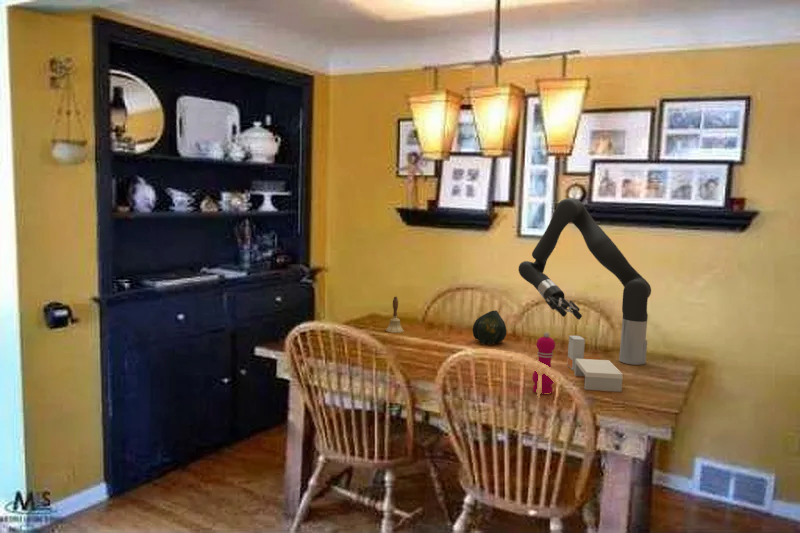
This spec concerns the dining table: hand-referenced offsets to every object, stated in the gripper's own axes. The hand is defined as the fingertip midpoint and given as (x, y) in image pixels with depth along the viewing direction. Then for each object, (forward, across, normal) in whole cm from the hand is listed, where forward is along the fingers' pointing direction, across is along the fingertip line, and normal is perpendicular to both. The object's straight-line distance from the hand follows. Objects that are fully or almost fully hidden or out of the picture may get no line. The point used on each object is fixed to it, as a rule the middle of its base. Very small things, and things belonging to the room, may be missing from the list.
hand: (572, 316), depth 253 cm
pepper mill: (+35, -35, +10) cm, 50 cm away
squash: (-22, -9, +34) cm, 42 cm away
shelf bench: (+33, -10, +6) cm, 35 cm away
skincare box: (+17, -3, +12) cm, 21 cm away
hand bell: (-51, -35, +54) cm, 83 cm away
